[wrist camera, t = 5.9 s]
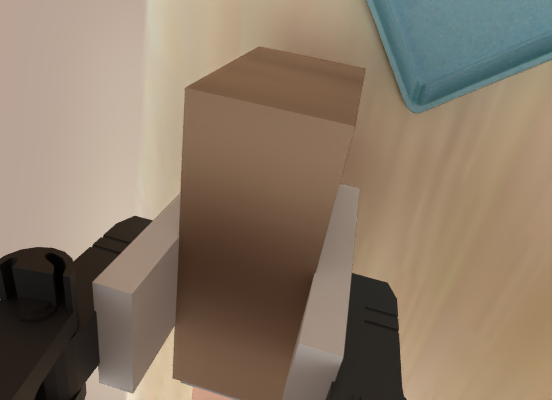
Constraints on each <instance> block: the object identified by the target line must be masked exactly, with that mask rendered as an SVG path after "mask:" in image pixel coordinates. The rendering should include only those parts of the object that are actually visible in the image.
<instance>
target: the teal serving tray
mask: <svg viewBox="0 0 552 400" xmlns="http://www.w3.org/2000/svg"><path fill="white" fill-rule="evenodd" d="M366 1H367V4H368V7H369V9H370V11H371V14H372V16H373V19H374V22H375V24H376V27H377V30H378V32H379V35H380V38H381V41H382V43H383V46H384V49H385V52H386V54H387V57H388V59H389V62H390V65H391V68H392V70H393V73H394V76H395V78H396V81H397V84H398V87H399V90H400V92H401V95H402V98H403V100H404V103H405V105H406V107H407V108H408V109H409V110H410V111H411V112H413V113H417V114H419V113H421V112H424V111H427V110H429V109H432V108H434V107H436V106H439V105H441V104H443V103H446V102H448V101H451V100H453V99H455V98H458V97H460V96H463V95H465V94H468V93H470V92H472V91H475V90H477V89H480V88H482V87H485V86H487V85H490V84H492V83H495V82H497V81H500V80H502V79H505V78H507V77H510V76H512V75H515V74H517V73H520V72H522V71H525V70H527V69H530V68H532V67H535V66H537V65H540V64H542V63H545V62H547V61H549V60H552V0H366Z"/></svg>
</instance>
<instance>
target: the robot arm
mask: <svg viewBox="0 0 552 400" xmlns="http://www.w3.org/2000/svg"><path fill="white" fill-rule="evenodd" d="M359 193H360V188H356V187H352V186H348V185H344V184H340V185H339V188H338V192H337V196H336V200H335V203H334V207H333V211H332V215H331V218H330V222H329V226H328V229H327V233H326V237H325V241H324V244H323V248H322V252H321V256H320V259H319V263H318V267H317V271H316V273H315V274H314V277H313V281H312V285H311V289H310V292H309V296H308V300H307V304H306V308H305V311H304V315H303V319H302V323H301V326H300V330H299V334H298V338H297V341H296V345H295V349H294V353H293V356H292V360H291V364H290V369H289V373H288V377H287V381H286V385H285V390H284V394H283V398H282V400H406V398H405V397H404V395H403V390H402V377H401V360H400V343H399V333H398V330H399V325H398V319H397V317H398V308H397V298H396V297H395V295H394V293H393V291H392V290H391V288H390V286H389V284H388V283H387V282H383V281H379V280H375V279H372V278H368V277H364V276H361V275H357V274H353V273H352V265H353V255H354V244H355V234H356V224H357V214H358V204H359ZM180 196H181V193H180V194H179V195H178V196H177V197H176V198H175V199H174V200H173V201H172V202H171V203H170V204H169V205H168V206H167V207H166V208H165V209H164V210H163V211H162V212H161V213H160V214H159V215H158V216H157V217H156V218H155V219H154V220H153V221H152V220H149V219H145V218H141V217H138V216H133V217H131V218H129V219H126V220H124V221H121V222H119V223H117V224H115V226H113V227H112V228H111V229H110V230H109V231H108V232H106V233H105V234H104V236H103V238H102V237H101V238H100V239H99V240H98V241H97V242H95V243H94V244H93V246H92V247H89V248H88V249H87V250H86V251H85V252H84V253H83V254H81V255H80V256H79V257H78V258H77V259H76V260H75V261H74V262H73V260H72V258H71V257H70V256H69V255H67V253H65V252H63V251H60V250H57V249H54V248H44V247H35V248H29V249H22V250H19V251H16V252H13V253H10V254H8V255H5V256H3V257H2V258H0V400H84V399H85V396H86V383H85V382H86V381H87V379H88V378H89V377H90V375H91V374H92V373H93V371H94V370H95V369H96V367H97V366H98V369H99V382H100V383H102V384H106V385H108V386H111V387H114V388H118V389H120V390H123V391H127V392H130V393H134V391H135V390H136V388H137V386H138V385H139V383H140V381H141V380H142V378H143V376H144V375H145V373H146V372H147V370H148V368H149V367H150V365H151V363H152V362H153V360H154V358H155V357H156V355H157V354H158V352H159V350H160V349H161V347H162V345H163V344H164V342H165V340H166V339H167V337H168V336H169V334H170V332H171V331H172V329H173V327H174V326H175V320H176V298H177V275H178V253H179V219H180Z"/></svg>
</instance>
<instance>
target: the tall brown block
mask: <svg viewBox="0 0 552 400" xmlns="http://www.w3.org/2000/svg"><path fill="white" fill-rule="evenodd" d="M364 74H365V69H364V68H360V67H355V66H350V65H345V64H340V63H336V62H331V61H326V60H321V59H317V58H312V57H307V56H302V55H297V54H293V53H288V52H283V51H278V50H273V49H269V48H264V47H257V48H256V49H254V50H252V51H250V52H248V53H247V54H245V55H243V56H241V57H239V58H238V59H236V60H234V61H232V62H230V63H229V64H227V65H225V66H223V67H221V68H220V69H218V70H216V71H214V72H213V73H211V74H209V75H207V76H205V77H204V78H202V79H200V80H198V81H196V82H195V83H193V84H191V85H189V86H187V87H186V88H185V103H184V126H183V149H182V172H181V196H180V219H179V253H178V275H177V298H176V320H175V334H174V358H173V379H177V380H180V381H181V383H184V384H187V385H190V386H193V387H196V388H200V389H203V390H206V391H209V392H212V393H215V394H219V395H222V396H225V397H228V398H231V399H234V400H282V398H283V394H284V390H285V385H286V381H287V377H288V373H289V369H290V364H291V360H292V356H293V353H294V349H295V345H296V341H297V338H298V334H299V330H300V326H301V323H302V319H303V315H304V311H305V308H306V304H307V300H308V296H309V292H310V289H311V285H312V281H313V277H314V274H315V273H316V271H317V267H318V263H319V259H320V256H321V252H322V248H323V244H324V241H325V237H326V233H327V229H328V226H329V222H330V218H331V215H332V211H333V207H334V203H335V200H336V196H337V192H338V188H339V185H340V181H341V177H342V173H343V170H344V166H345V162H346V158H347V155H348V151H349V147H350V143H351V140H352V136H353V132H354V129H355V124H356V119H357V113H358V107H359V102H360V96H361V91H362V85H363V79H364Z"/></svg>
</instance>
